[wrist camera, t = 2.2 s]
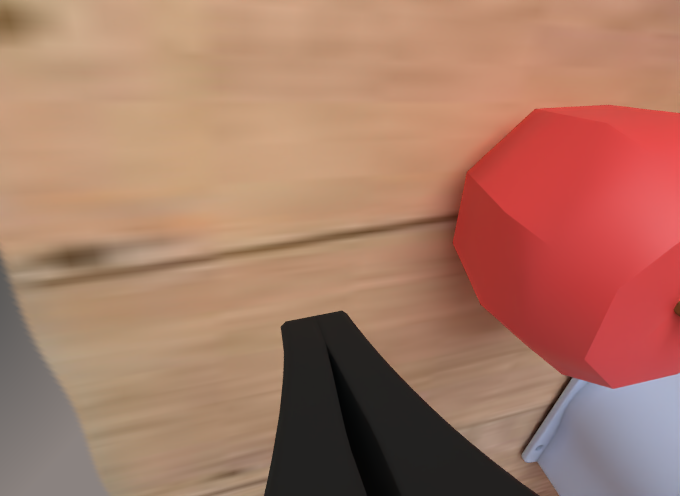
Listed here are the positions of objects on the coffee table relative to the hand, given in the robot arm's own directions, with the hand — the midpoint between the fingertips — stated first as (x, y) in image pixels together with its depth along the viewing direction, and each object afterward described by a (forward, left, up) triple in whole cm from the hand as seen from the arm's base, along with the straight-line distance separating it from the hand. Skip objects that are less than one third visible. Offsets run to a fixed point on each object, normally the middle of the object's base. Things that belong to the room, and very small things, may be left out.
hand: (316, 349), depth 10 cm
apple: (+2, -9, -6) cm, 11 cm away
